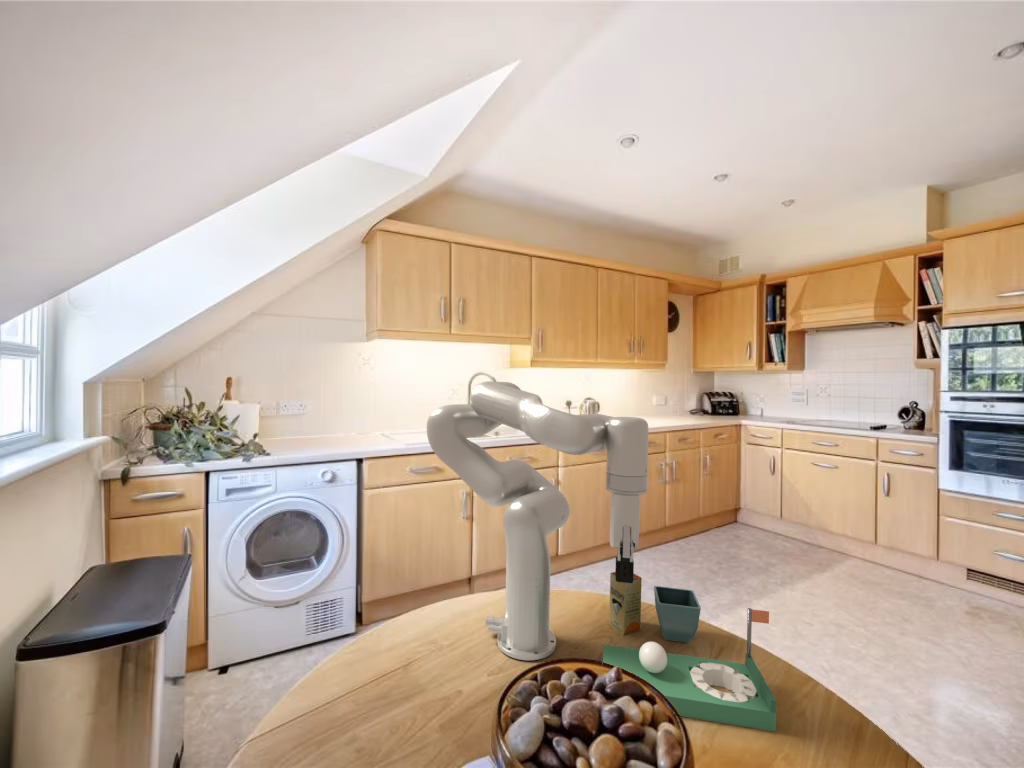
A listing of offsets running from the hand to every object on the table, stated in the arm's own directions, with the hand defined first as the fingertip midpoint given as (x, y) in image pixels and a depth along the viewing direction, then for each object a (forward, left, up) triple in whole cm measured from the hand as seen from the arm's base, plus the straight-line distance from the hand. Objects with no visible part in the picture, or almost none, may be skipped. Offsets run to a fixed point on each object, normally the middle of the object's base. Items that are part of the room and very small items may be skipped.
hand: (624, 580), depth 83 cm
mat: (+10, 0, -19) cm, 22 cm away
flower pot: (+12, +19, -19) cm, 30 cm away
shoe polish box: (+1, +20, -19) cm, 28 cm away
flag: (+25, +6, -19) cm, 32 cm away
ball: (+5, 0, -14) cm, 15 cm away
